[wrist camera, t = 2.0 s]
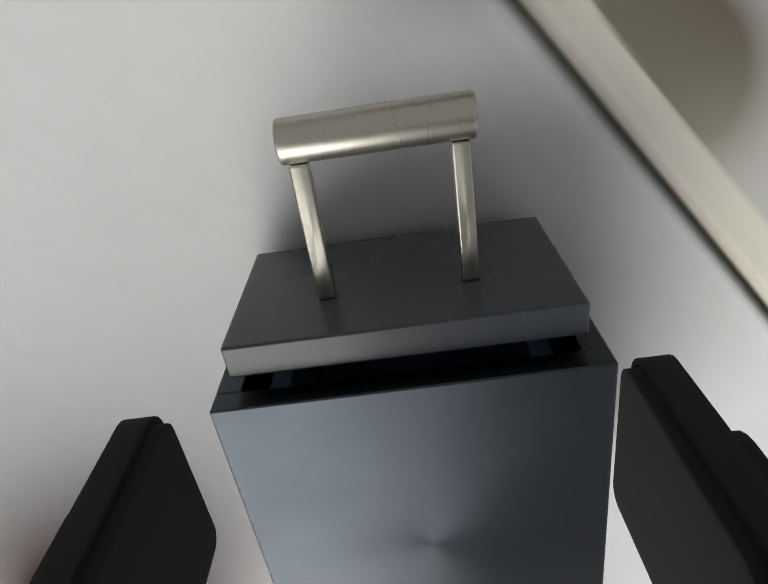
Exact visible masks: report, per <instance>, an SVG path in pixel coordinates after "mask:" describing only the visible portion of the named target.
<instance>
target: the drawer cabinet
mask: <svg viewBox="0 0 768 584" xmlns="http://www.w3.org/2000/svg"><path fill="white" fill-rule="evenodd" d="M547 340H548V342H549V344H550V346H551V348H552V350H553V353H554V354H548V355H540V356H532V357H524V358H516V359H508V360H499V361H491V362H483V363H475V364H467V365H459V366H450V367H442V368H434V369H426V370H418V371H410V372H401V373H393V374H385V375H377V376H369V377H361V378H352V379H344V380H336V381H328V382H320V383H312V384H303V385H295V386H287V387H279V388H271V389H270V386H271V382H272V377H273V373H266V374H258V375H250V376H242V377H234V378H231V377H230V376H229V373H228V370H227V367H226V369H225V372H224V375H223V377H222V380H221V383H220V386H219V388H218V391H217V396H216V397H215V400H214V402H213V405H212V408H211V411H210V415H211V417H212V420H213V423H214V425H215V428H216V431H217V433H218V436H219V439H220V441H221V444H222V447H223V449H224V452H225V455H226V457H227V460H228V463H229V465H230V468H231V471H232V473H233V476H234V479H235V482H236V484H237V487H238V490H239V492H240V495H241V498H242V500H243V503H244V506H245V508H246V511H247V514H248V516H249V519H250V522H251V524H252V527H253V530H254V532H255V535H256V538H257V540H258V543H259V546H260V548H261V551H262V554H263V556H264V559H265V562H266V564H267V567H268V570H269V572H270V575H271V578H272V580H273V583H274V584H603V573H604V558H605V544H606V529H607V515H608V501H609V486H610V472H611V457H612V443H613V428H614V414H615V400H616V385H617V371H618V363H617V361H616V359H615V358H614V356H613V354H612V353H611V351H610V349H609V348H608V346H607V344H606V343H605V341H604V339H603V338H602V336H601V335H600V333H599V331H598V330H597V328H596V326H595V325H594V323H593V321H592V320H591V318H590V316H589V332H588V333H587V334H581V335H573V336H565V337H556V338H548V339H547Z"/></svg>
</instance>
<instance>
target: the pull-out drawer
mask: <svg viewBox="0 0 768 584" xmlns="http://www.w3.org/2000/svg"><path fill="white" fill-rule="evenodd" d="M477 134H478V113H477V105H476V99H475V95H474V93H473V91H472V90H465V91H458V92H452V93H445V94H438V95H431V96H424V97H418V98H411V99H404V100H397V101H391V102H384V103H377V104H370V105H364V106H357V107H350V108H343V109H337V110H330V111H323V112H316V113H310V114H303V115H296V116H289V117H283V118H276V119H274V121H273V139H274V145H275V149H276V153H277V156H278V159H279V161H280V163H281V164H282V165H290V167H289V170H290V174H291V178H292V183H293V187H294V192H295V196H296V201H297V205H298V209H299V214H300V218H301V223H302V227H303V231H304V236H305V240H306V245H307V248H302V249H295V250H288V251H280V252H273V253H266V254H259V255H257V257H256V260H255V263H254V265H253V268H252V270H251V273H250V275H249V278H248V281H247V283H246V286H245V288H244V291H243V293H242V296H241V298H240V301H239V304H238V306H237V309H236V311H235V314H234V316H233V319H232V321H231V324H230V327H229V329H228V332H227V334H226V337H225V339H224V342H223V345H222V347H221V352H222V355H223V358H224V361H225V364H226V367H227V370H228V373H229V376H230V377H231V378H234V377H242V376H250V375H258V374H266V373H273V377H272V382H271V386H270V389H271V388H279V387H287V386H295V385H303V384H312V383H320V382H328V381H336V380H344V379H352V378H361V377H369V376H377V375H385V374H393V373H401V372H410V371H418V370H426V369H434V368H442V367H450V366H459V365H467V364H475V363H483V362H491V361H499V360H508V359H516V358H524V357H532V356H540V355H548V354H554V353H553V350H552V348H551V346H550V344H549V342H548V340H547V339H548V338H556V337H565V336H573V335H581V334H587V333H588V332H589V309H590V303H589V301H588V299H587V298H586V296H585V295H584V293H583V291H582V290H581V288H580V287H579V285H578V283H577V282H576V280H575V279H574V277H573V275H572V274H571V272H570V271H569V269H568V268H567V266H566V264H565V263H564V261H563V260H562V258H561V256H560V255H559V253H558V252H557V250H556V248H555V247H554V245H553V244H552V242H551V240H550V239H549V237H548V236H547V234H546V233H545V231H544V229H543V228H542V226H541V225H540V223H539V221H538V220H537V218H536V217H531V218H524V219H517V220H509V221H502V222H495V223H487V224H480V225H476V210H475V195H474V181H473V166H472V151H471V142H470V140H469V139H472V138H476V137H477ZM444 142H450V153H451V165H452V176H453V188H454V200H455V211H456V223H457V228H450V229H443V230H435V231H428V232H421V233H413V234H406V235H399V236H391V237H384V238H376V239H369V240H362V241H354V242H347V243H339V244H332V245H327V242H326V237H325V232H324V227H323V223H322V218H321V213H320V208H319V203H318V199H317V194H316V189H315V184H314V179H313V174H312V170H311V165H310V162H312V161H319V160H326V159H333V158H340V157H347V156H354V155H361V154H368V153H375V152H382V151H389V150H396V149H403V148H409V147H416V146H423V145H430V144H437V143H444Z"/></svg>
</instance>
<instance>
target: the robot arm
mask: <svg viewBox="0 0 768 584" xmlns="http://www.w3.org/2000/svg"><path fill="white" fill-rule="evenodd" d="M613 488H614V495H615V499H616V502H617V505H618V508H619V510H620V512H621V514H622V517H623V519H624V521H625V523H626V525H627V528H628V530H629V532H630V534H631V537H632V539H633V541H634V543H635V546H636V548H637V550H638V552H639V555H640V557H641V559H642V561H643V564H644V566H645V568H646V570H647V573H648V575H649V577H650V579H651V582H652V584H768V458H767V457H766V456H765V455H764V453H763V452H762V451H761V450H760V448H759V447H758V446H757V444H756V443H755V442H754V441H753V440H752V439H751V438H750V437H749V436H748V435H747V434H745V433H743V432H742V431H731V430H730V428H729V427H728V426H727V424H726V423H725V422H724V420H723V419H722V418H721V416H720V415H719V414H718V412H717V411H716V410H715V409H714V407H713V406H712V405H711V403H710V402H709V401H708V399H707V398H706V397H705V395H704V394H703V393H702V391H701V390H700V389H699V387H698V386H697V385H696V383H695V382H694V381H693V380H692V378H691V377H690V376H689V374H688V373H687V372H686V370H685V369H684V368H683V366H682V365H681V364H680V362H679V361H678V360H677V359H676V358H675V357H674V356H673V355H670V354H669V355H660V356H652V357H644V358H636V359H634V360H633V362H632V366H631V368H627V369H623V371H622V374H621V384H620V397H619V411H618V424H617V438H616V451H615V465H614V478H613ZM215 548H216V530H215V526H214V524H213V521H212V519H211V516H210V514H209V512H208V509H207V507H206V505H205V502H204V500H203V497H202V495H201V493H200V490H199V488H198V485H197V483H196V481H195V478H194V476H193V473H192V471H191V469H190V466H189V464H188V462H187V459H186V457H185V454H184V452H183V450H182V447H181V445H180V442H179V440H178V438H177V435H176V433H175V431H174V428H173V427H172V425H171V424H168V423H166V424H164V423H163V422H162V420H161V419H160V418H159V417H157V416H152V417H144V418H135V419H127V420H123V421H121V422H120V423H119V424H118V426H117V427H116V429H115V431H114V432H113V434H112V436H111V438H110V440H109V442H108V443H107V445H106V447H105V449H104V451H103V452H102V454H101V456H100V458H99V460H98V461H97V463H96V465H95V467H94V469H93V471H92V472H91V474H90V476H89V478H88V480H87V481H86V483H85V485H84V487H83V489H82V491H81V492H80V494H79V496H78V498H77V500H76V501H75V503H74V505H73V507H72V509H71V511H70V512H69V514H68V515H67V517H66V518H65V520H64V522H63V524H62V525H61V527H60V529H59V531H58V533H57V534H56V536H55V538H54V540H53V542H52V543H51V545H50V547H49V549H48V551H47V552H46V554H45V556H44V558H43V560H42V562H41V563H40V565H39V567H38V569H37V571H36V572H35V574H34V576H33V578H32V580H31V581H30V583H29V584H206V582H207V578H208V574H209V571H210V567H211V563H212V559H213V556H214V552H215Z"/></svg>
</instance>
